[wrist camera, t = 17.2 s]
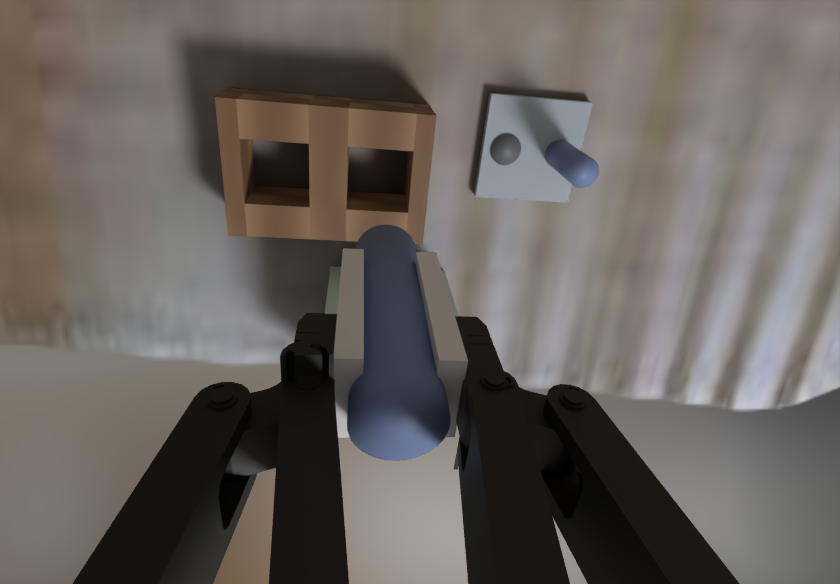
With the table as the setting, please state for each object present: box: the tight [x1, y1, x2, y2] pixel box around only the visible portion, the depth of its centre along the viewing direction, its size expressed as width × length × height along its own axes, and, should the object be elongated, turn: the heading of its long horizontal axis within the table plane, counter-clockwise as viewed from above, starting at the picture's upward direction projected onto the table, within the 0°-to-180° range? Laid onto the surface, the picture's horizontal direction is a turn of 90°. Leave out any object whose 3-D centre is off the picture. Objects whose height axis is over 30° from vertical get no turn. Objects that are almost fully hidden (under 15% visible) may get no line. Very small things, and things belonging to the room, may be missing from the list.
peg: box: [347, 225, 451, 461], centre depth 17 cm, size 3×3×10 cm
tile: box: [474, 92, 599, 203], centre depth 31 cm, size 7×7×5 cm
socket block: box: [215, 88, 436, 245], centre depth 31 cm, size 12×8×4 cm, turn 84°
